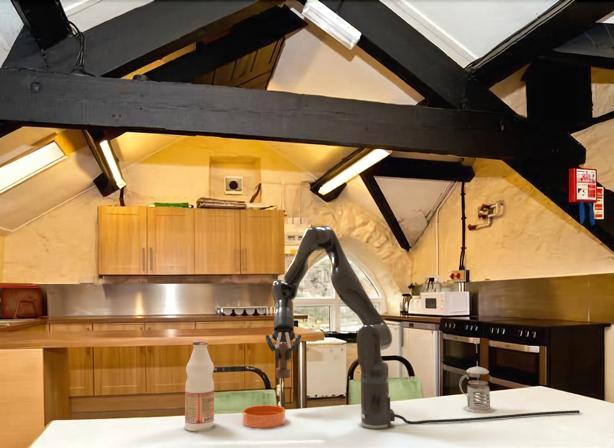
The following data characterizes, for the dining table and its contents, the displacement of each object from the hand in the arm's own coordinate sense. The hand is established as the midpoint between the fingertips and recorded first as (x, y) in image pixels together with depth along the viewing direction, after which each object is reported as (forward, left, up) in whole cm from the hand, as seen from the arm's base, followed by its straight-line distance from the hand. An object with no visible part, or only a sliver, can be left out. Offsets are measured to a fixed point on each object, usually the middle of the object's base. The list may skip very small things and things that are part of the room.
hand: (283, 359), depth 189 cm
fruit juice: (+27, +13, -20) cm, 36 cm away
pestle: (0, -2, -7) cm, 7 cm away
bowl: (+6, +10, -20) cm, 23 cm away
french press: (-71, -6, -20) cm, 74 cm away
